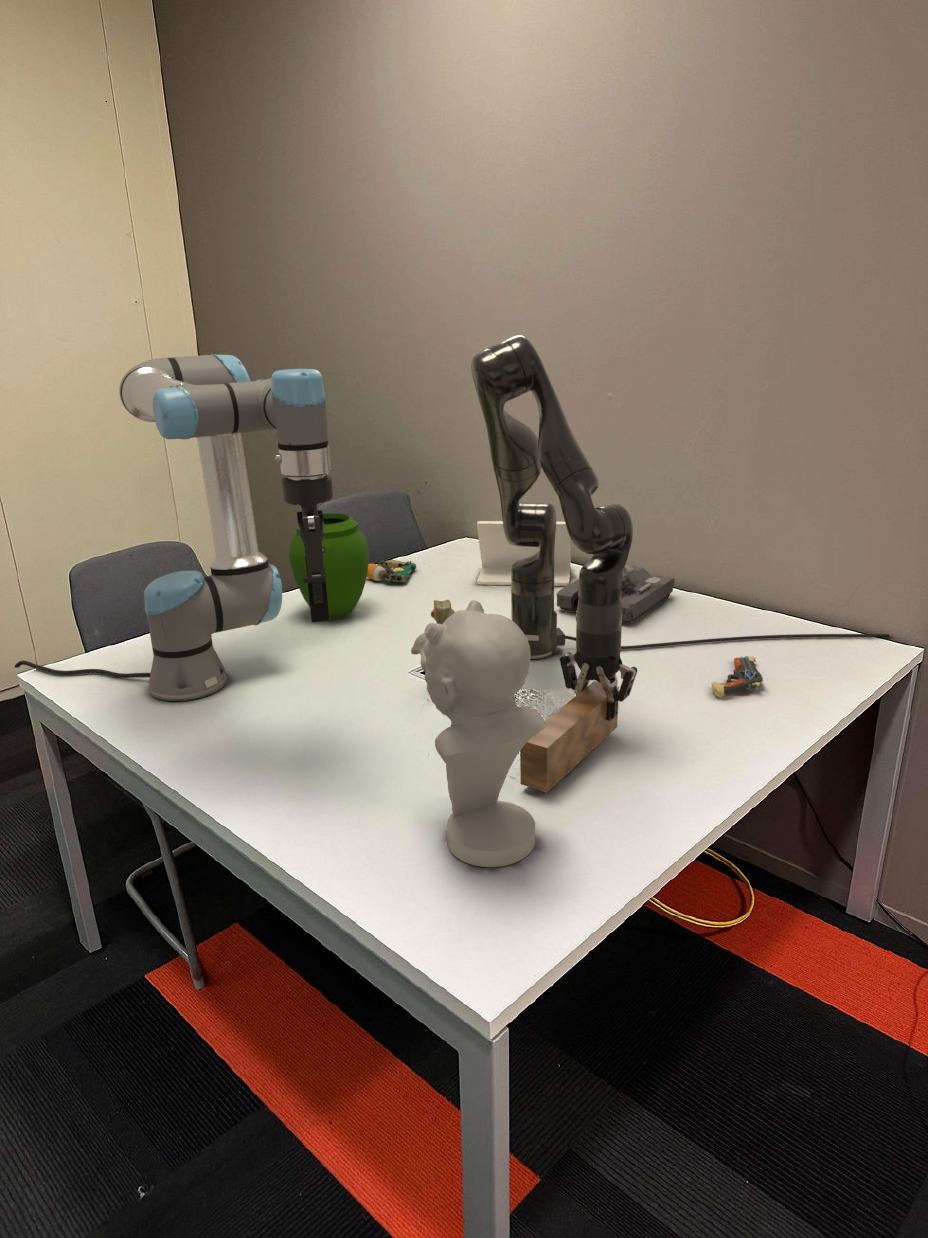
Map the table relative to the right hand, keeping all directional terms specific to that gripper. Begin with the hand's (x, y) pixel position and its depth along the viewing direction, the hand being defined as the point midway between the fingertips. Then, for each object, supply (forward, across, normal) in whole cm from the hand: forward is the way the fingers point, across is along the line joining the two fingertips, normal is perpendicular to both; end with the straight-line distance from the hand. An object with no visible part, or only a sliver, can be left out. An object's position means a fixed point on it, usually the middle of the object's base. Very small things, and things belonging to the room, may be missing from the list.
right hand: (596, 714), depth 149 cm
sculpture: (+5, +40, -10) cm, 41 cm away
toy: (+5, +27, -65) cm, 70 cm away
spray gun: (+5, +91, -56) cm, 107 cm away
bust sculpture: (+5, +3, +35) cm, 36 cm away
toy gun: (+5, -13, -36) cm, 39 cm away
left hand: (-23, +35, +30) cm, 51 cm away
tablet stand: (+5, +59, -74) cm, 95 cm away
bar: (+3, 0, +9) cm, 10 cm away
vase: (+5, +84, -24) cm, 87 cm away
